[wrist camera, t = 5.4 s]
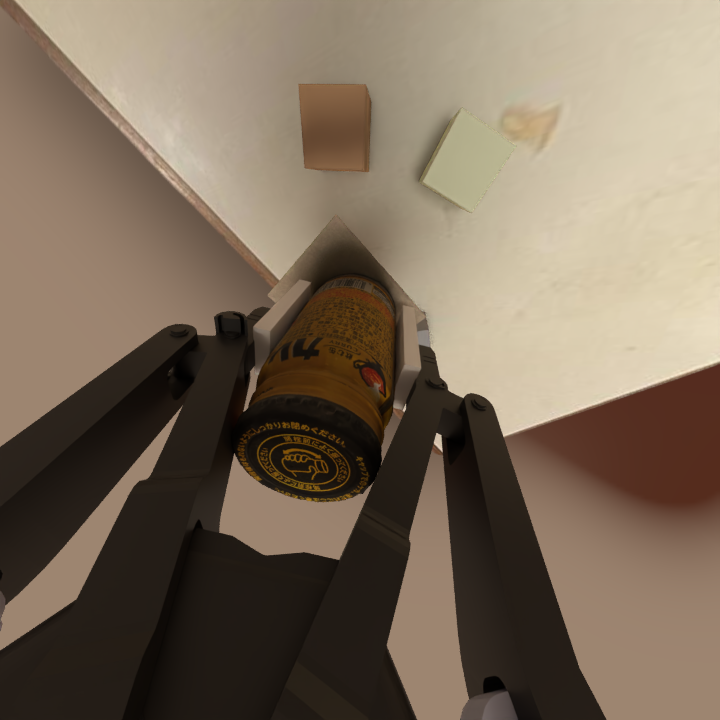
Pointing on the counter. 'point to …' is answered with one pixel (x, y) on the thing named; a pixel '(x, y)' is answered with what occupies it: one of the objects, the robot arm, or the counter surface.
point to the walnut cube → (335, 126)
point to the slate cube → (423, 332)
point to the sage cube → (466, 161)
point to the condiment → (327, 376)
